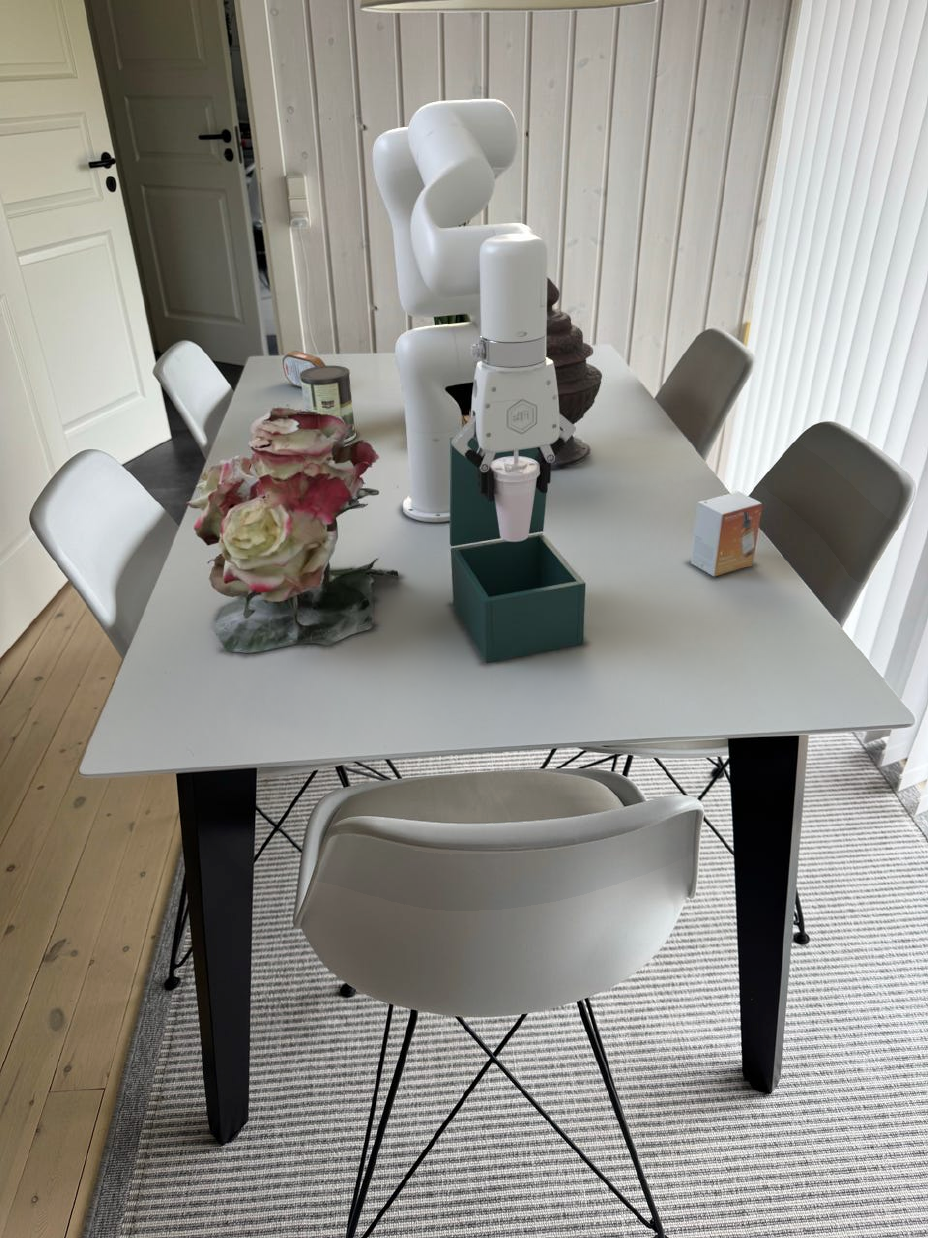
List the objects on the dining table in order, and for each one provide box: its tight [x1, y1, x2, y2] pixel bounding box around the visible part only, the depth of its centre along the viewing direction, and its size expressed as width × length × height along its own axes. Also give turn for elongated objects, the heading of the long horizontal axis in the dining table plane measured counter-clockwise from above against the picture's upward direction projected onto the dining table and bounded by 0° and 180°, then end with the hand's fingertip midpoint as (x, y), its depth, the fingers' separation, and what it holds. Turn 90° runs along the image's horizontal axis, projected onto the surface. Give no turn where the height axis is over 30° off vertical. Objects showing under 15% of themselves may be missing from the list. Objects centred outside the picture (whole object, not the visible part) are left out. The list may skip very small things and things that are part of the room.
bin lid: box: [449, 437, 548, 548], centre depth 125 cm, size 17×14×5 cm
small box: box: [690, 490, 763, 578], centre depth 137 cm, size 8×6×10 cm
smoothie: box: [491, 450, 540, 542], centre depth 114 cm, size 6×6×14 cm
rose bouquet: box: [185, 404, 400, 654], centre depth 124 cm, size 26×29×30 cm
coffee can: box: [300, 365, 357, 444], centre depth 190 cm, size 10×10×14 cm
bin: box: [450, 532, 587, 664], centre depth 125 cm, size 16×14×9 cm
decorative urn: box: [546, 276, 603, 470], centre depth 171 cm, size 20×20×35 cm
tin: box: [282, 350, 327, 389], centre depth 223 cm, size 15×3×8 cm, turn 49°
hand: (514, 492), depth 114 cm, fingers closed on smoothie, 6 cm apart
